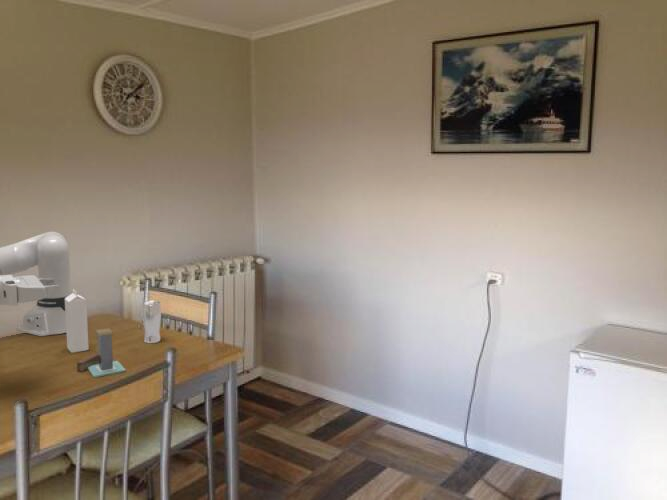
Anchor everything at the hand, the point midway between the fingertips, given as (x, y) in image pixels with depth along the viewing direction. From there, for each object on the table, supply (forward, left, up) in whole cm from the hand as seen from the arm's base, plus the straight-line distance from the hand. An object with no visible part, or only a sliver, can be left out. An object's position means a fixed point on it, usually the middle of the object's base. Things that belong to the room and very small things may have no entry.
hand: (56, 284), depth 182 cm
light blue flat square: (+10, +8, -30) cm, 33 cm away
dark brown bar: (+3, +10, -30) cm, 32 cm away
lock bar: (+10, +8, -29) cm, 32 cm away
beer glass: (+8, +39, -30) cm, 50 cm away
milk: (-12, +22, -30) cm, 39 cm away
